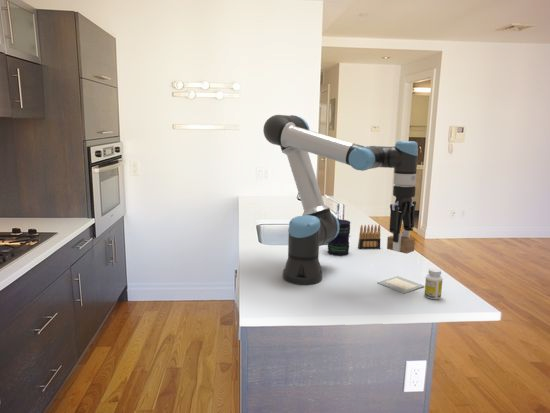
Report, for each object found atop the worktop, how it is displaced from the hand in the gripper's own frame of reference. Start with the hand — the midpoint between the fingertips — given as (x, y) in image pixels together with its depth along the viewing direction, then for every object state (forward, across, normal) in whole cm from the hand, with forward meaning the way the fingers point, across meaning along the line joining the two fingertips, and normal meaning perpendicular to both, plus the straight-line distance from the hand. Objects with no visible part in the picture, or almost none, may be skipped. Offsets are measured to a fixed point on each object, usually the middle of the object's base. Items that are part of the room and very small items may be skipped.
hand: (400, 249), depth 150 cm
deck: (0, 0, 0) cm, 0 cm away
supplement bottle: (+15, +1, -13) cm, 20 cm away
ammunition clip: (+14, +33, +36) cm, 51 cm away
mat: (+14, +2, 0) cm, 15 cm away
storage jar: (+14, +16, +41) cm, 46 cm away
